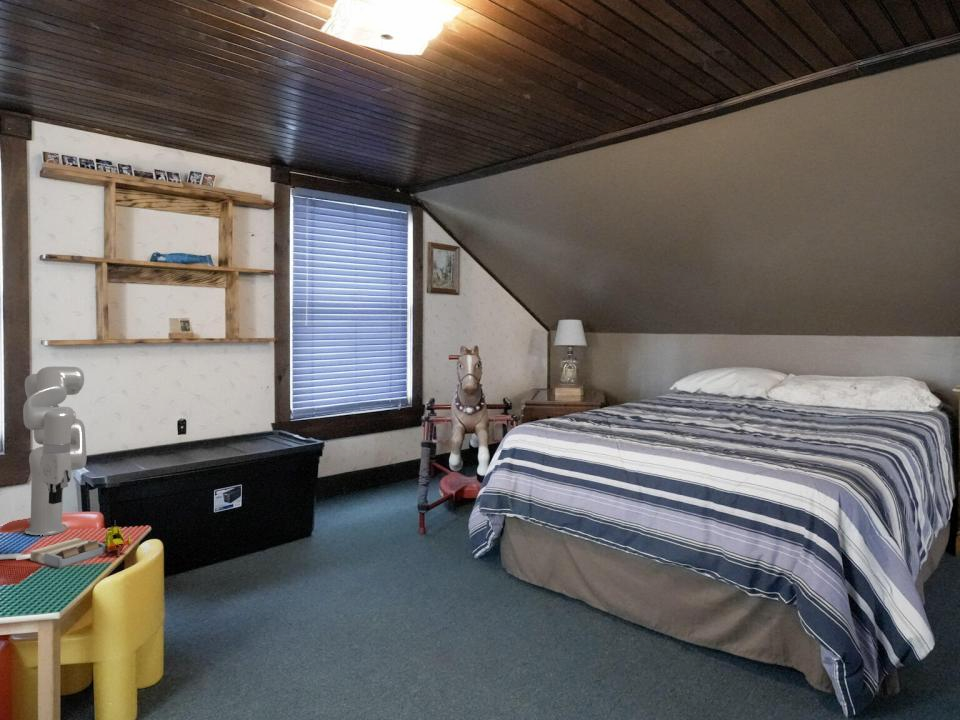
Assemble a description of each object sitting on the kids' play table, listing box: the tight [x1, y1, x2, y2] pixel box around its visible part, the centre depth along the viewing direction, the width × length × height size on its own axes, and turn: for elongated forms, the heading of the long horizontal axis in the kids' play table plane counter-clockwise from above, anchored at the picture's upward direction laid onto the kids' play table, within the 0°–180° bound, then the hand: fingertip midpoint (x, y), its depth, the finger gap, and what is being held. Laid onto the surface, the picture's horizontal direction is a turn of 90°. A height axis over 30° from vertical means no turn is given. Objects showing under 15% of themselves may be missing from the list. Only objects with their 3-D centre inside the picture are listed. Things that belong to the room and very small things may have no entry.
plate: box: [30, 537, 89, 565], centre depth 202 cm, size 7×15×3 cm, turn 157°
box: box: [43, 539, 106, 570], centre depth 200 cm, size 8×15×4 cm, turn 157°
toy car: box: [104, 520, 131, 556], centre depth 210 cm, size 6×18×10 cm, turn 39°
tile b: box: [56, 546, 79, 559], centre depth 196 cm, size 4×4×2 cm
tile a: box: [77, 540, 99, 554], centre depth 203 cm, size 4×4×2 cm
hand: (55, 502), depth 201 cm, fingers closed
